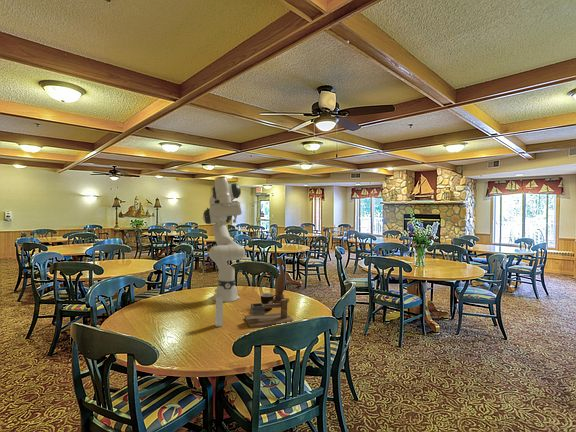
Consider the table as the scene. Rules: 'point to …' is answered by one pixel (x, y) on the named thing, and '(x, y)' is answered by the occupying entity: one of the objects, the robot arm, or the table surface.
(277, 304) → the cup bracket
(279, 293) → the bird sculpture
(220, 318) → the rail
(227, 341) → the table surface
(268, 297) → the coffee mug
